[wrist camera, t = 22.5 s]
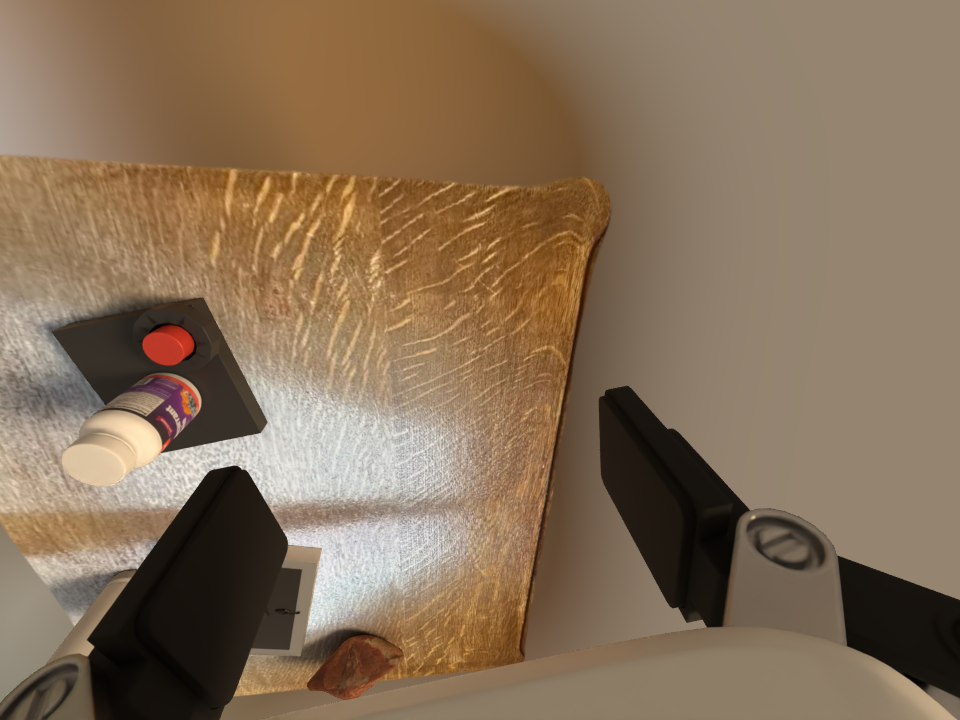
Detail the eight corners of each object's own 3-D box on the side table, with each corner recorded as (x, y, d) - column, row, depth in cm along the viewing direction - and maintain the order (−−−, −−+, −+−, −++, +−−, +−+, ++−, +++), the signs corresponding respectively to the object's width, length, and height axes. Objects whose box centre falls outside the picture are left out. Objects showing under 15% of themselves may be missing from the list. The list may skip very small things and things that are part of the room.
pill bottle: (202, 424, 39) (136, 499, 30) (140, 412, 37) (52, 487, 29) (205, 378, 36) (134, 444, 28) (138, 364, 35) (43, 429, 27)
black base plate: (66, 318, 35) (29, 334, 31) (211, 290, 35) (189, 303, 32) (155, 444, 41) (132, 467, 38) (276, 420, 42) (264, 441, 38)
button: (148, 328, 33) (134, 336, 31) (184, 321, 33) (171, 329, 31) (167, 359, 34) (154, 368, 32) (201, 352, 34) (190, 361, 33)
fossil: (303, 687, 58) (314, 744, 50) (304, 631, 58) (315, 678, 50) (387, 655, 65) (408, 700, 56) (387, 604, 65) (409, 642, 56)
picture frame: (186, 534, 47) (188, 635, 56) (172, 555, 45) (176, 657, 53) (321, 548, 51) (304, 641, 59) (316, 568, 48) (299, 662, 57)
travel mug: (99, 587, 49) (-87, 824, 32) (130, 561, 48) (-45, 794, 30) (146, 607, 52) (-1, 837, 34) (178, 584, 51) (41, 810, 33)
